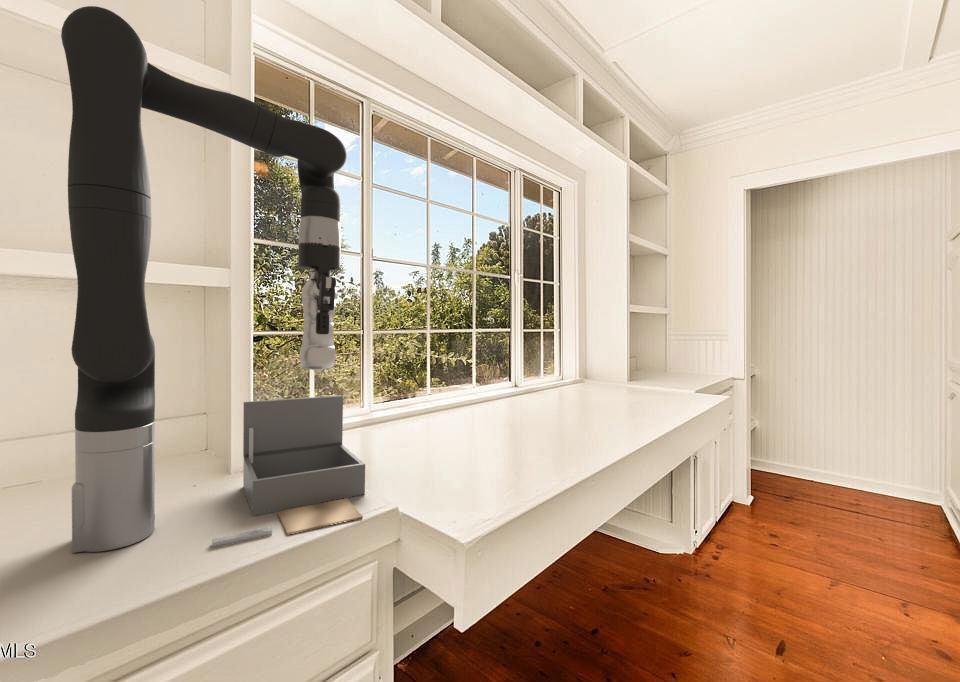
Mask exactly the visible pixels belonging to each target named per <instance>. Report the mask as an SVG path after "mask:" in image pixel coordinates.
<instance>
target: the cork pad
mask: <svg viewBox="0 0 960 682" xmlns="http://www.w3.org/2000/svg"><path fill="white" fill-rule="evenodd" d="M277 515H278V518H279V519H280V522H281V525H282V527H283V529H284V531H285V534H286V536H291V535H290V534H292V535H296V534H300V533H299V532H301V533H303V531H305V532H308V531H307V530H310V531H313V529H314V530H317V528H319V529H322V528H321V527H323V528H326V527H325V526H327V527H329V526H328V525H331V524H335V523H339V522H344V521H350V520H354V521H357V520H356V519H359V520H363V519H362V518H363V515H362V514H361V512H360V511H359V510H358V509H357V508H356V507H355V505H353V503H352V502H351V501H350V500H349V498H344V499H339V500H333V501H328V502H323V503H318V504H313V505H307V506H302V507H297V508H292V509H287V510H281V511H277ZM350 522H351V521H350ZM295 533H296V534H295Z"/></svg>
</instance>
